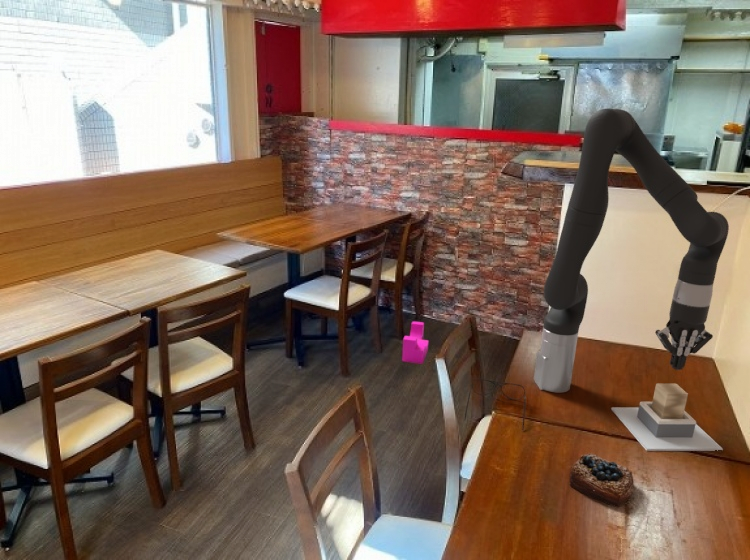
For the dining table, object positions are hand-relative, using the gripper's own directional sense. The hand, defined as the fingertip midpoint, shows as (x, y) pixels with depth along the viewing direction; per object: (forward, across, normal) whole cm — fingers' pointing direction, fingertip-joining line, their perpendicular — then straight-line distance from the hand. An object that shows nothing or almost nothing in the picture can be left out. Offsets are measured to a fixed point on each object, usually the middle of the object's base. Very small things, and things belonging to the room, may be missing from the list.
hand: (676, 368), depth 130 cm
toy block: (+17, -56, +43) cm, 73 cm away
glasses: (+18, -40, +8) cm, 44 cm away
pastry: (+17, -25, -21) cm, 37 cm away
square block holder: (+17, 0, 0) cm, 17 cm away
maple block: (+12, 0, 0) cm, 12 cm away
